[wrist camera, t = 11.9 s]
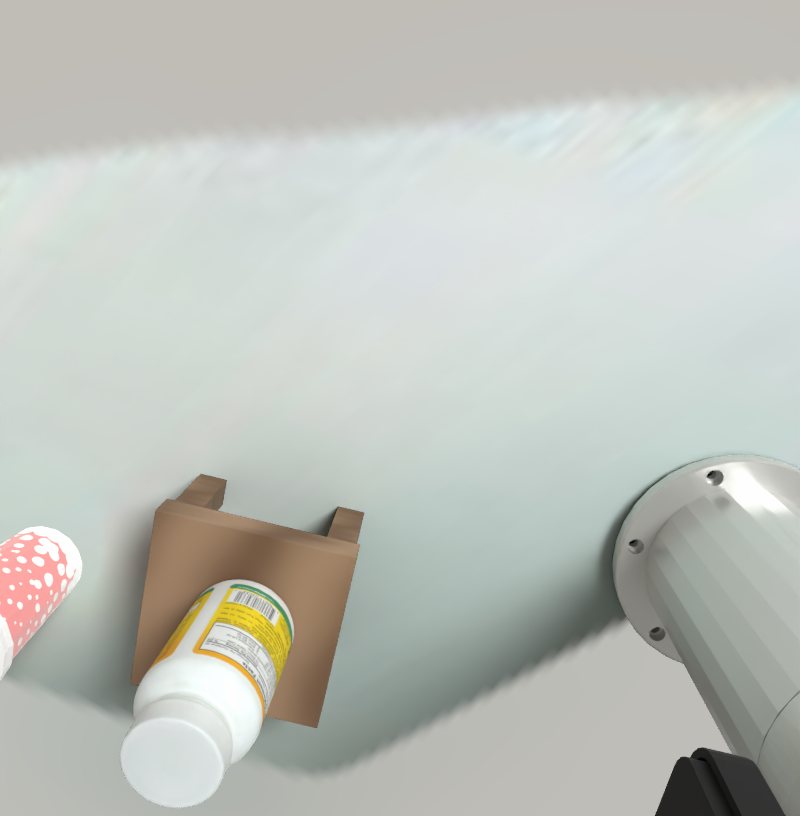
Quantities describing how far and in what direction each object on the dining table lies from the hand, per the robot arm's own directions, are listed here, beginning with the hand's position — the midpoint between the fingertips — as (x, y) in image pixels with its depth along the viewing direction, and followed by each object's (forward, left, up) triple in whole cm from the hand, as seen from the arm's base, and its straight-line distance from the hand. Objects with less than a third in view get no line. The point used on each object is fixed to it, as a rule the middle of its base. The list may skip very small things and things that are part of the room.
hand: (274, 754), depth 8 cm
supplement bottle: (+5, +15, -24) cm, 29 cm away
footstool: (+5, +15, -30) cm, 34 cm away
